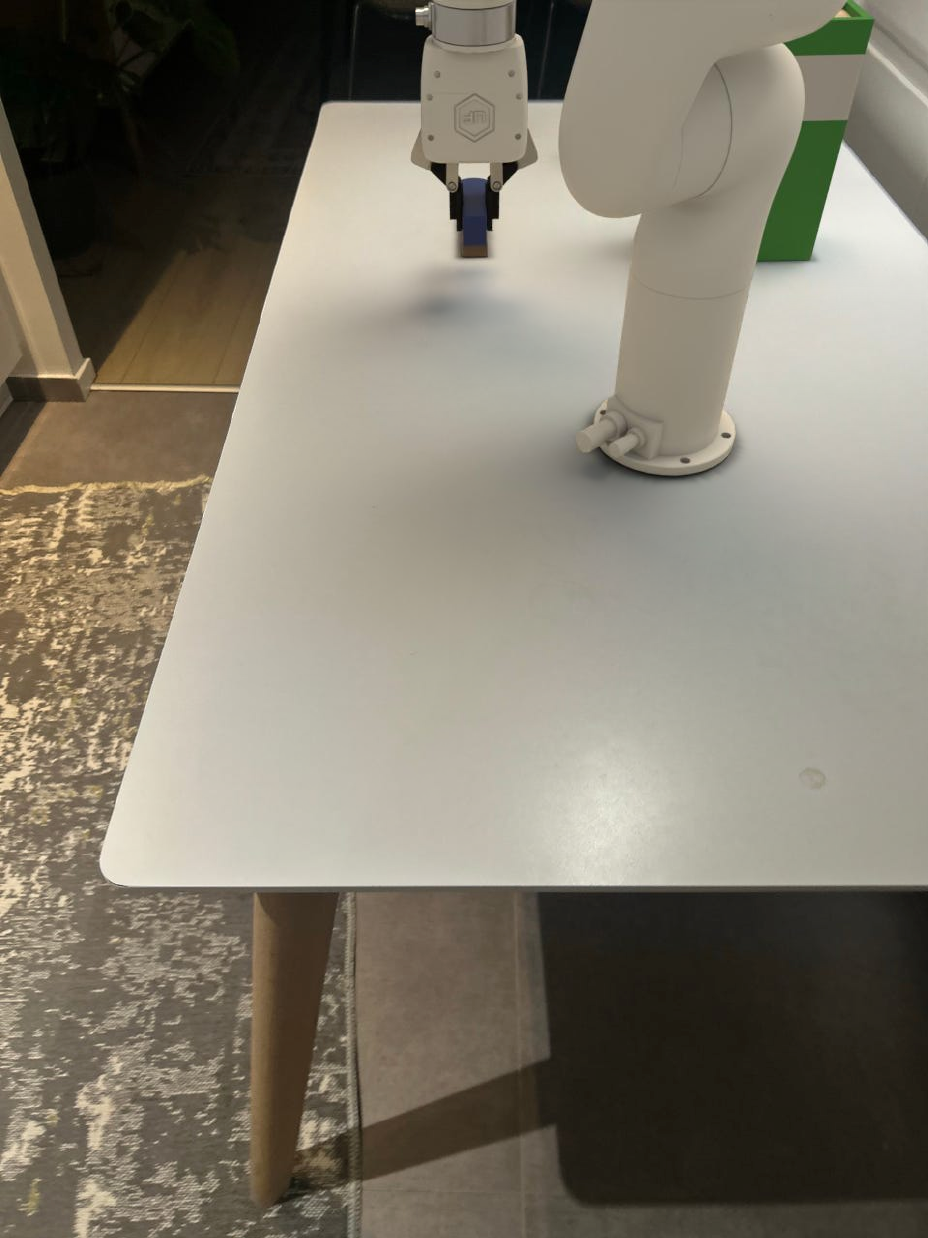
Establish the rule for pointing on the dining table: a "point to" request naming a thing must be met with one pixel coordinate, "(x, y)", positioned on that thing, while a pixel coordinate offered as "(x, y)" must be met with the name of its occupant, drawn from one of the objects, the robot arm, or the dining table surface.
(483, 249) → the walnut strip
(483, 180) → the blue block and puck
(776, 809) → the dining table surface
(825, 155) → the hardback book
